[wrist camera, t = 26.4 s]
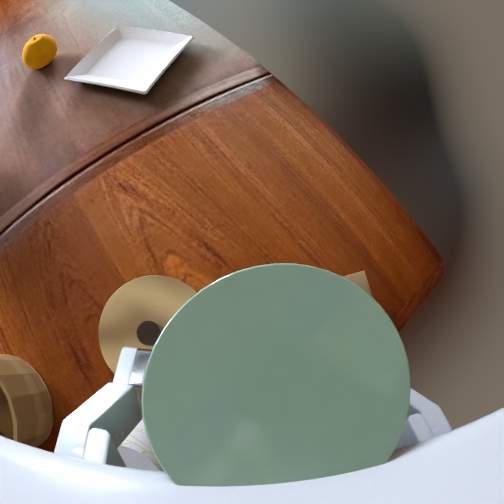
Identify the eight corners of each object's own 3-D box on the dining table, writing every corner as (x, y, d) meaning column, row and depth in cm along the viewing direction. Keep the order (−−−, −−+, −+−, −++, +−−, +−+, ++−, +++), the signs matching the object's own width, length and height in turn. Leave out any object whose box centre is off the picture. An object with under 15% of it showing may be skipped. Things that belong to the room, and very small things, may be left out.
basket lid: (228, 379, 35) (232, 384, 30) (116, 401, 32) (102, 409, 27) (200, 266, 39) (199, 253, 34) (92, 289, 36) (76, 279, 31)
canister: (298, 405, 16) (425, 461, 5) (195, 432, 15) (190, 547, 4) (272, 307, 17) (374, 239, 7) (168, 330, 16) (113, 293, 6)
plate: (147, 102, 45) (145, 93, 43) (65, 85, 45) (63, 78, 43) (194, 43, 52) (195, 35, 50) (119, 31, 51) (117, 24, 49)
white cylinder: (190, 449, 32) (186, 489, 21) (148, 485, 29) (130, 531, 18) (141, 404, 33) (114, 427, 21) (100, 441, 30) (63, 473, 19)
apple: (29, 80, 44) (18, 55, 37) (26, 64, 46) (16, 40, 39) (62, 61, 47) (53, 35, 40) (57, 47, 48) (49, 22, 41)
